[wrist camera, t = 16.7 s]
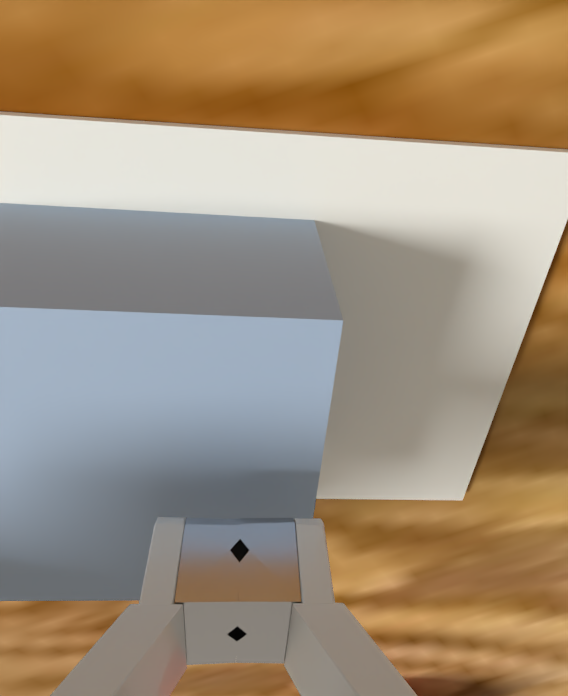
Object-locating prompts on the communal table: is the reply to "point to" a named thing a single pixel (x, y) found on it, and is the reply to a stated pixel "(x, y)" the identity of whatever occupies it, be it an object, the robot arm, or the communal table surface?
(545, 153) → the mat
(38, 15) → the communal table surface
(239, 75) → the communal table surface
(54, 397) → the painted block
